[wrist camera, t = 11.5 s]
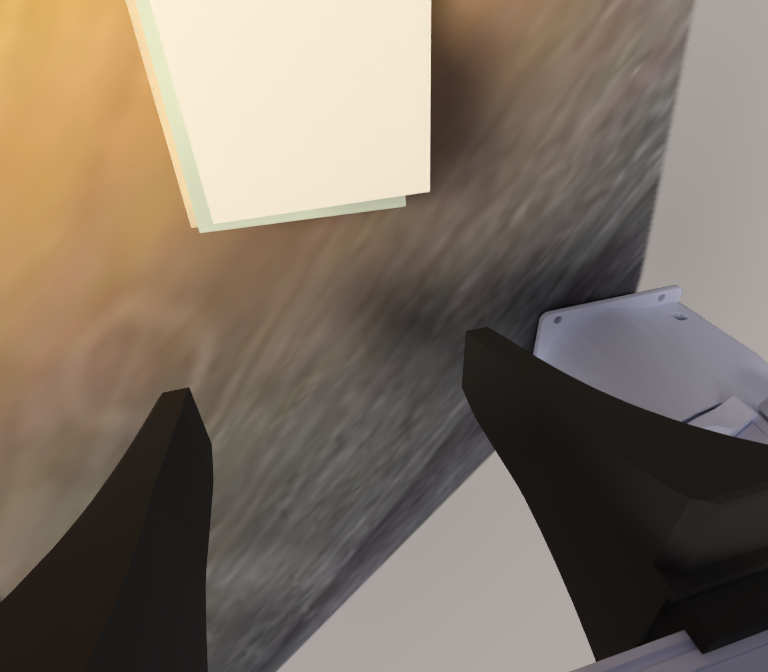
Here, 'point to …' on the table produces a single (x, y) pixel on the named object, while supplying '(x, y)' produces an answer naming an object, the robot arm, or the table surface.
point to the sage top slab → (189, 161)
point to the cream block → (301, 100)
